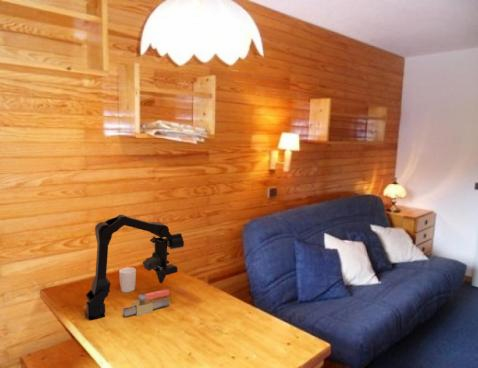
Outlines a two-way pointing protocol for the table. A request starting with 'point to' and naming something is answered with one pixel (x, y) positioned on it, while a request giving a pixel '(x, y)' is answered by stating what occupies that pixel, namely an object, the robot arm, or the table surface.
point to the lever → (153, 295)
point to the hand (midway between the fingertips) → (160, 282)
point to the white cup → (127, 279)
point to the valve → (145, 307)
